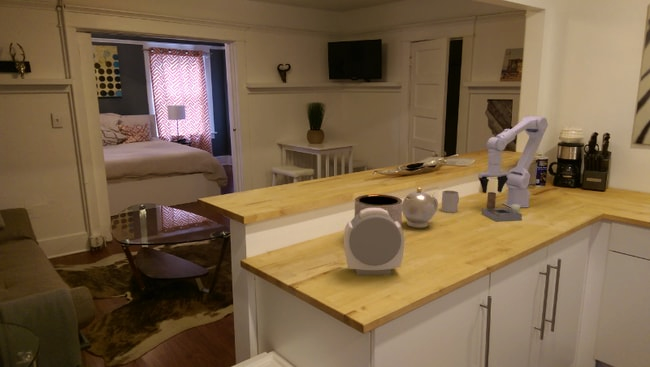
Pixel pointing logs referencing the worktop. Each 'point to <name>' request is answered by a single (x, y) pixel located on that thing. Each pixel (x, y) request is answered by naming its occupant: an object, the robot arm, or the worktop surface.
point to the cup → (450, 201)
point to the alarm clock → (373, 242)
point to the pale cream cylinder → (515, 208)
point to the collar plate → (501, 214)
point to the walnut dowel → (491, 200)
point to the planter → (381, 205)
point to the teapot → (419, 208)
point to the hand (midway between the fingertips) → (491, 192)
